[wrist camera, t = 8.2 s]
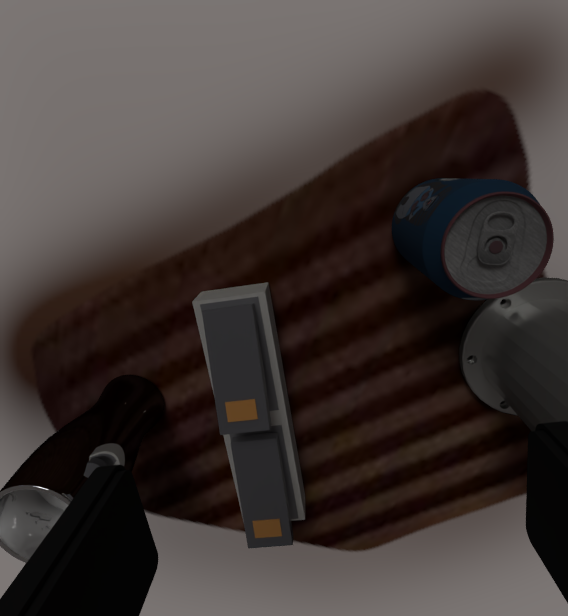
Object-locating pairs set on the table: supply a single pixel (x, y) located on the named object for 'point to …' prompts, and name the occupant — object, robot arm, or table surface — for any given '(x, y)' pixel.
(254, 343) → the outlet rocker
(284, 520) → the outlet rocker
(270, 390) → the power strip
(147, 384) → the beer glass
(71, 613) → the robot arm
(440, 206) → the soda can
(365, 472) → the table surface
